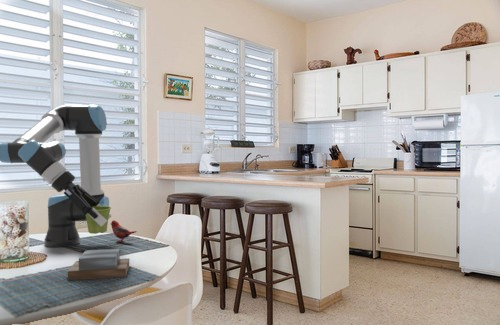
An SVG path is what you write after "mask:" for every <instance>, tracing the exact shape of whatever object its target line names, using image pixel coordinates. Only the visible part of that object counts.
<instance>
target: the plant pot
mask: <svg viewBox="0 0 500 325" xmlns="http://www.w3.org/2000/svg"><path fill="white" fill-rule="evenodd" d="M93 208H94V209H95V210H96V211H97V212H98V213H100V214H101V215H102V216H103V217H104V218H105V219H106V220H107V222H106V223H105V224H104V225H103V226H102V227H101V226H100V225H99V224H98V223H97V222H96V221H94V220H93V219H92V218H91V217H90V216H89V215H88V213H87V214H86V220H87V221H86V224H87V232H88V233H89V234H94V235H95V234H98V233H99V234H100V233H101V234H104V233H107V231H108V223H109V219H108V217H109V214H110V213H111V209H112V207H111V206H109V207H107V206H96V207H92V209H93Z"/></svg>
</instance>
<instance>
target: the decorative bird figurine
mask: <svg viewBox="0 0 500 325" xmlns="http://www.w3.org/2000/svg"><path fill="white" fill-rule="evenodd" d="M110 225H111V229H112V232H113V234H114V236H115V237H116V238H118V240H116V241H117V242H119V243H120V242H121V243H125V241H124V239H126V238H128V237H130V235H132V234H135V233H137V232H138V231H137V230H135V231H134V230H133V231H130V230H128V229H127V228H125V227H124V226H122V225H121V224H119V222H118V221H117V220H112V221H111V222H110Z"/></svg>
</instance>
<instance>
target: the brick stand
mask: <svg viewBox="0 0 500 325" xmlns="http://www.w3.org/2000/svg"><path fill="white" fill-rule="evenodd" d="M120 254H121V253H120V248H109V249H86V250H84V252H83V253H82V254H81V255H80V256H79V257H78V260H76V261H75V262H74V263H73V264H72V266H71V267H70V268H69V269H68V270H67V281H73V280H76V281H77V280H94V279H95V280H96V279H111V278H114V279H115V278H126V277H127V275H128V271H129V269H130V258H121V256H120Z"/></svg>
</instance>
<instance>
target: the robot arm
mask: <svg viewBox="0 0 500 325" xmlns="http://www.w3.org/2000/svg"><path fill="white" fill-rule="evenodd" d="M107 124H108V123H107V116H106V112H105V111H104V109H103V107H102V106H100V105H99V104H64V105H59V106H57V107H55V108H52V109H51V110H49V111H47V112H46V113H45V114H43V115H42V116H41V119H40V120H39V121H38V122H37V123H35V124H34V125H33V126H32V127H30V128H29V129H28V130H27V131H25V132H24V133H23V134H21V135H20V136H19V137H17V138H16V139H15V140H13V141H12V142H9V141H7V142H2V143H0V162H1V163H7V164H26V165H27V166H29V168H31V170H34V171H35V172H36V173H37V174H38V175H39V176H40V177H42V178H43V179H42V181H43V182H47V183H48V184H49V185H51V187H52V188H53V189H54V190H55V191H56V192H57V193H61V192H63V191H64V192H63V194H62V193H61V194H57V195H52V196H50V197H49V198H48V201H47V202H48V203H47V214H48V216H47V218H48V220H47V222H48V223H47V224H48V228H47V231H46V235H45V238H44V242H43V243H44V247H49V248H62V247H63V248H65V247H70V246H75V245H78V244H80V243H81V237H80V233H79V231H78V229H77V225H76V223H77V222H87V220H86V214H87V213H88V215H89V216H90V217H91V218H92V219H93V220H94V221H96V222H97V223H98V224H99V225H100V226H101V227H102V226H103V225H104V224H105V223H106V222H107V220H106V219H105V218H104V217H103V216H102V215H101V214H100V213H98V212H97V211H96V210H95V209H94V208H93V209H92V207H96V206H107V207H110V199H109V197H108V196H107V195H105V191H104V190H103V189H102V186H101V163H100V162H101V160H100V159H101V158H100V137H102V135H103V131H105V130H106V129H107ZM62 131H74V134H75V136H76V137H77V138H78V144H79V145H78V147H79V148H78V149H79V170H80V172H79V174H80V184H75V183H73V181H75V180H76V177H75V175H74V174H72V173H71V172H70V171H69V170H67V168H66V167H65V166H64V165H63V164H62V163H61V162H60V161H61V160H62V159H64V158H65V155H66V153H67V150H66V147H65V145H64V144H63V143H62V142H60V141H55V140H54V141H49V142H47V141H48V140H49V139H50V138H52V137H53V136H54V135H55V134H59V133H60V132H62ZM111 218H112V215H111V214H110V213H109V217H108V220H110V219H111Z"/></svg>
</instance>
